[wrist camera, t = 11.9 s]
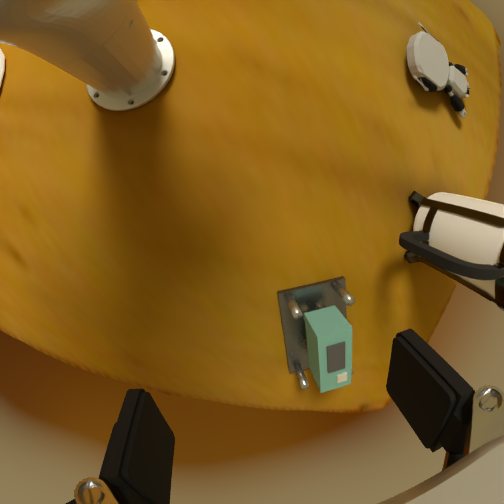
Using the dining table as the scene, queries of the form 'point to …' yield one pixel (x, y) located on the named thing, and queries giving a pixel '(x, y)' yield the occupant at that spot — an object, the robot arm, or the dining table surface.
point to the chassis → (294, 323)
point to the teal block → (329, 347)
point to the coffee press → (460, 241)
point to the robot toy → (436, 69)
